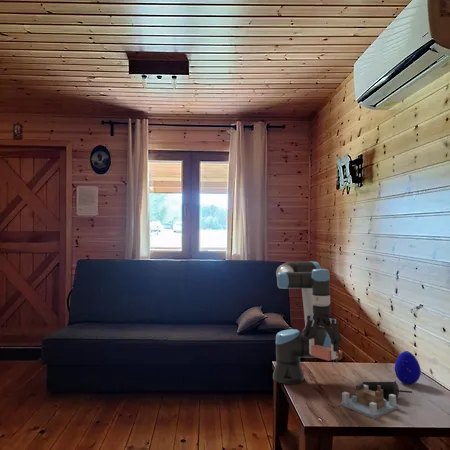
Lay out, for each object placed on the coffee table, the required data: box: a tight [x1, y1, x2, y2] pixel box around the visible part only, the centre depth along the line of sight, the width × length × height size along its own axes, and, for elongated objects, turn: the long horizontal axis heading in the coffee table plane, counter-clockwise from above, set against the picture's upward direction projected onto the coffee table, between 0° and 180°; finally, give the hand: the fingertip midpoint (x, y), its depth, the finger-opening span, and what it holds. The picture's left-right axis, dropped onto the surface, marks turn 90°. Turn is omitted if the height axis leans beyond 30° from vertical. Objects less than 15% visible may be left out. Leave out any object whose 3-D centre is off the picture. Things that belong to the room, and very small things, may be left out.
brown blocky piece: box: [355, 382, 384, 409], centre depth 168 cm, size 10×4×9 cm, turn 39°
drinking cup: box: [362, 381, 413, 401], centre depth 176 cm, size 8×8×20 cm
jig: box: [340, 384, 399, 420], centre depth 168 cm, size 16×16×5 cm
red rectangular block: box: [311, 345, 332, 362], centre depth 177 cm, size 10×4×4 cm, turn 35°
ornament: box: [394, 350, 422, 385], centre depth 192 cm, size 11×9×15 cm
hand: (322, 356), depth 177 cm, fingers closed on red rectangular block, 10 cm apart
